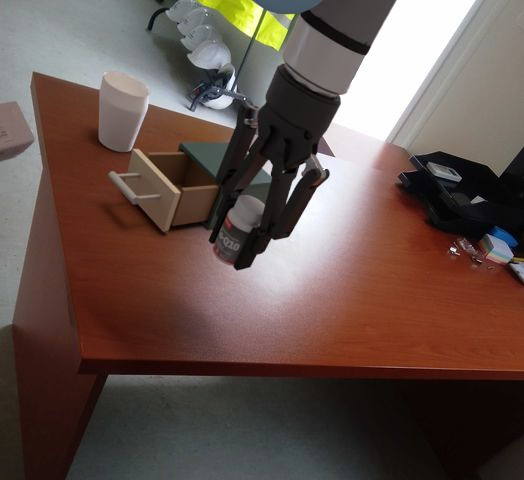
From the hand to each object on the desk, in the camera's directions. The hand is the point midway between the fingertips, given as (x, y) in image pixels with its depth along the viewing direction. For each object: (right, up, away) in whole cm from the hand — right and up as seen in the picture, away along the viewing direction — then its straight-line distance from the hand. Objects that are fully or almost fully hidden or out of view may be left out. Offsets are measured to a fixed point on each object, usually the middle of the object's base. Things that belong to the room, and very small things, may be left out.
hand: (229, 253), depth 62 cm
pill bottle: (0, 0, 0) cm, 1 cm away
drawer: (-14, +13, +22) cm, 29 cm away
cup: (-26, +29, +32) cm, 50 cm away
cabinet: (-6, +17, +32) cm, 37 cm away
